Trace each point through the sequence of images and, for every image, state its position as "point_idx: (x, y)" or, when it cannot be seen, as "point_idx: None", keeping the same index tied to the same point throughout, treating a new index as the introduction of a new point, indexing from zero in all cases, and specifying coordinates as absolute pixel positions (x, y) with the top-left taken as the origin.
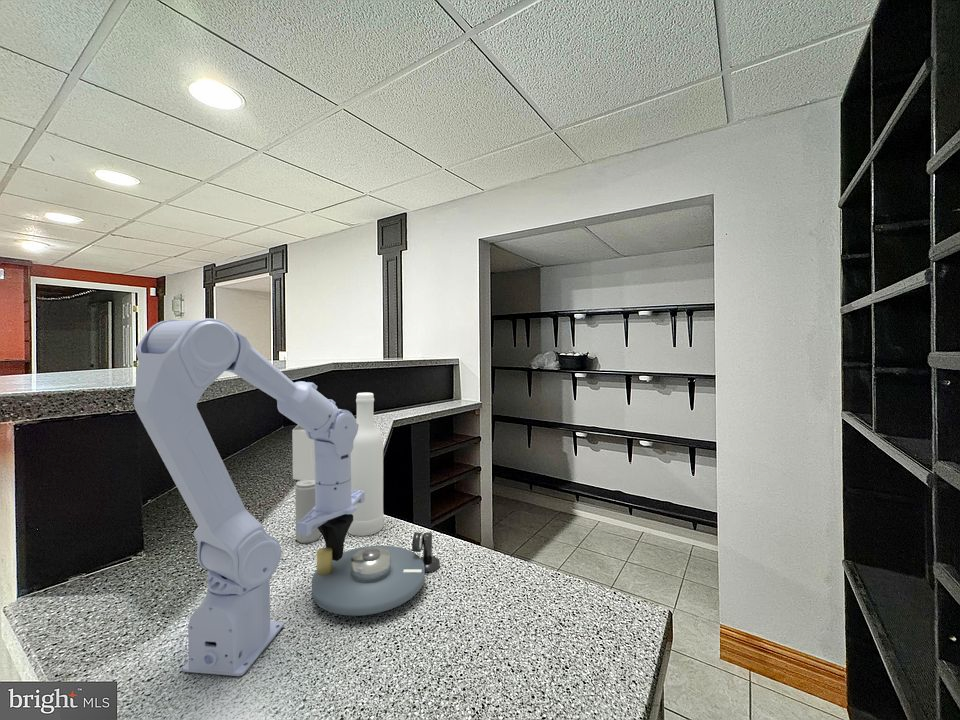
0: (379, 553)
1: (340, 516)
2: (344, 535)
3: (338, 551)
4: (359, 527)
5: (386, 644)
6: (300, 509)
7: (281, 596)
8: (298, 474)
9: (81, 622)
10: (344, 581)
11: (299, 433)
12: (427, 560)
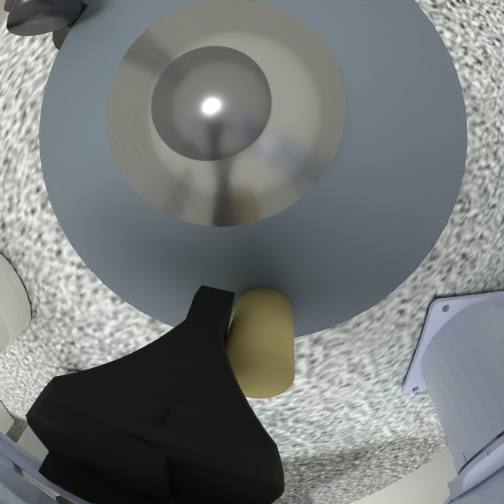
0: (203, 48)
1: (115, 486)
2: (171, 351)
3: (226, 316)
4: (11, 302)
5: (463, 23)
6: None
7: (313, 363)
8: (7, 420)
9: (363, 484)
10: (329, 203)
11: None
12: (84, 5)
